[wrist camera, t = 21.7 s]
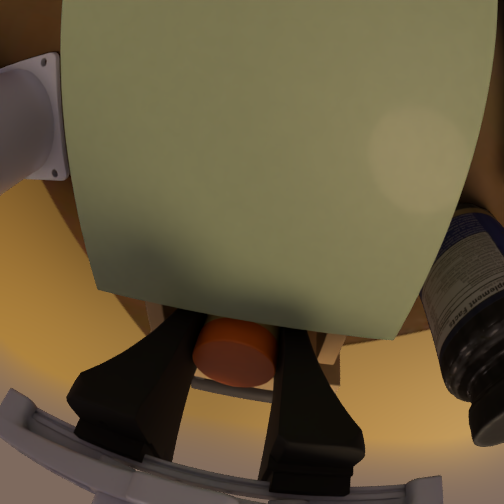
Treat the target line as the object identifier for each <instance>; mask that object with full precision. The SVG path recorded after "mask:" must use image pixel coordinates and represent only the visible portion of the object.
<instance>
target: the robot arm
mask: <svg viewBox="0 0 504 504" xmlns="http://www.w3.org/2000/svg"><path fill="white" fill-rule="evenodd" d="M45 60H47V63H46V64H45ZM56 171H57V173H58V174H57V173H56ZM68 177H69V166H68V159H67V152H66V144H65V136H64V127H63V117H62V104H61V88H60V58H59V55H58V53H56V52H51V53H47V54H43V55H40V56H36V57H33V58H30V59H27V60H24V61H20V62H17V63H15V64H12V65H9V66H6V67H3V68H1V69H0V195H2V194H3V193H5V192H6V191H7V190H9V189H10V188H12V187H13V186H14V185H16V184H17V183H19V182H20V181H22V180H23V179H39V180H59V181H63V180H65V179H67V178H68ZM207 315H208V314H205V313H200V312H195V311H190V310H185V309H180V308H177V309H176V310H175V311H174V312H173V313H172V314H171V315H170V316H169V317H168V318H167V319H166V320H165V321H164V322H162V323H161V324H160V325H159V326H158V327H157V328H156V329H154V330H153V331H152V332H151V333H150V334H148V335H147V336H146V337H144V338H143V339H142V340H140V341H139V342H138V343H136V344H135V345H133V346H132V347H130V348H129V349H127V350H126V351H124V352H122V353H121V354H119V355H117V356H115V357H113V358H112V359H110V360H108V361H106V362H104V363H102V364H100V365H98V366H95V367H93V368H91V369H88V370H86V371H84V372H81V373H80V375H79V376H78V377H77V379H76V380H75V382H74V384H73V386H72V387H71V389H70V392H69V393H68V395H67V397H66V398H67V402H68V404H69V405H70V407H71V408H72V409H73V410H74V411H75V413H76V414H77V415H78V416H79V418H80V419H79V421H78V423H77V426H76V427H75V426H73V425H71V424H69V423H66V422H64V421H62V420H60V419H58V418H56V417H54V416H52V415H50V414H48V413H47V412H45V411H43V410H41V409H39V408H37V406H36V405H35V404H34V403H33V402H32V401H31V400H30V399H29V398H28V397H26V396H25V395H23V394H21V393H19V392H18V391H16V390H14V389H13V388H10V390H9V391H8V393H7V395H6V397H5V398H4V400H3V402H2V403H1V405H0V438H2V439H3V440H4V441H5V442H7V443H8V444H9V445H11V446H12V447H13V448H15V449H16V450H18V451H19V452H20V453H22V454H24V455H25V456H27V457H28V458H30V459H32V460H33V461H35V462H36V463H38V464H39V465H41V466H43V467H45V468H46V469H48V470H50V471H51V472H53V473H55V474H57V475H58V476H60V477H62V478H64V479H66V480H67V481H70V482H71V483H73V484H75V485H77V486H79V487H81V488H83V489H85V490H87V491H89V492H91V493H94V494H95V496H94V499H93V502H92V504H265V503H259V502H254V501H250V500H245V499H240V498H236V497H234V496H231V495H228V494H234V495H239V496H246V497H252V498H259V499H268V500H270V501H268V504H443V490H442V476H432V477H424V478H417V479H414V480H411V481H409V482H408V483H407V484H403V485H389V486H369V487H350V478H351V476H352V475H353V466H355V465H356V464H357V463H358V462H360V461H361V460H362V459H363V458H364V456H365V444H364V438H363V434H362V430H361V429H360V427H359V426H358V425H357V424H356V423H355V421H354V420H353V419H352V418H351V416H350V415H349V414H348V412H347V411H346V410H345V408H344V407H343V405H342V404H341V402H340V401H339V399H338V398H337V396H336V394H335V393H334V391H333V389H332V388H331V386H330V384H329V382H328V381H327V379H326V377H325V375H324V373H323V371H322V369H321V367H320V364H319V362H318V360H317V357H316V355H315V352H314V350H313V347H312V344H311V342H310V338H309V335H308V332H307V330H301V329H294V328H287V327H281V326H280V334H279V342H278V346H279V351H278V358H277V366H276V373H275V375H274V382H273V397H272V405H271V412H270V417H269V423H268V429H267V435H266V440H265V445H264V451H263V456H262V461H261V466H260V471H259V476H258V480H252V479H245V478H240V477H234V476H229V475H223V474H218V473H214V472H209V471H205V470H200V469H196V468H192V467H188V466H184V465H180V464H177V463H173V462H172V459H173V454H174V449H175V445H176V440H177V435H178V431H179V427H180V422H181V418H182V415H183V410H184V407H185V403H186V399H187V395H188V392H189V388H190V385H191V382H192V380H193V377H194V374H195V372H196V369H197V367H196V365H195V364H194V362H193V357H192V354H193V350H194V347H195V344H196V342H197V339H198V336H199V333H200V331H201V329H202V327H203V326H204V323H205V320H206V317H207ZM131 467H132V468H131ZM133 468H135V469H137V470H140V471H143V472H140V471H136V470H135V469H133ZM145 472H146V473H145ZM199 487H200V488H199ZM217 491H218V492H217ZM221 492H223V493H221ZM225 493H228V494H225Z"/></svg>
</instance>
